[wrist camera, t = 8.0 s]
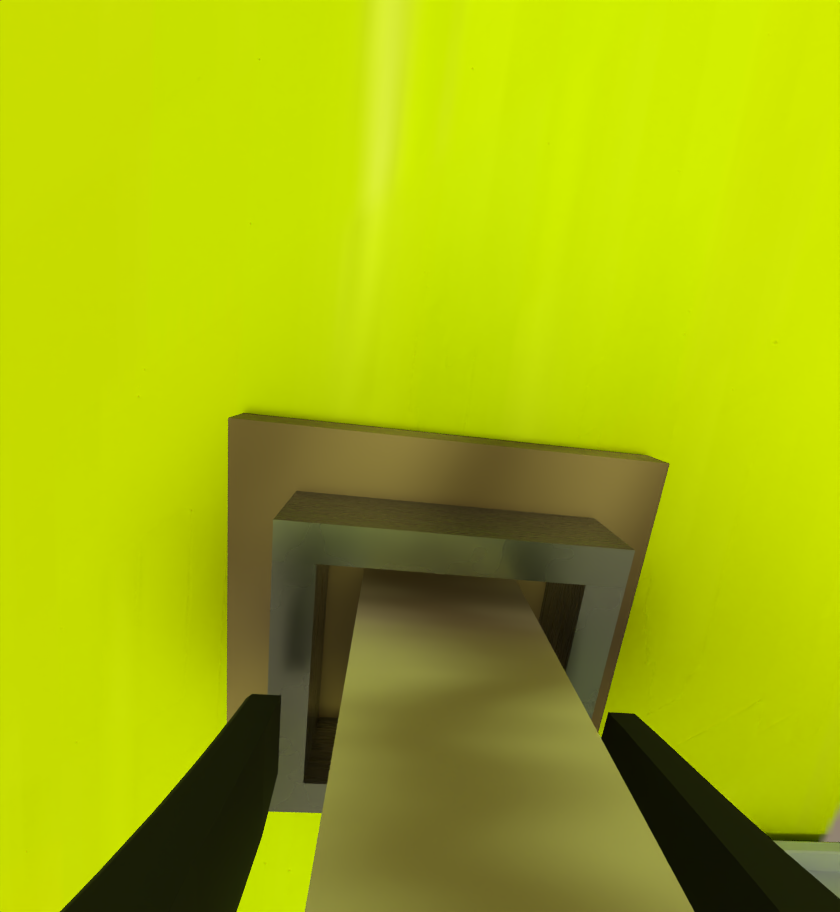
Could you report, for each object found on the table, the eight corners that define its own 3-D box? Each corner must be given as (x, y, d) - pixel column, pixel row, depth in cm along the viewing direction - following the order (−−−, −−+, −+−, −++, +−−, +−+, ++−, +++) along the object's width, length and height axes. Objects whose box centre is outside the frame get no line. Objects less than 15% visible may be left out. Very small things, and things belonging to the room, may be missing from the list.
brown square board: (647, 455, 12) (669, 463, 11) (569, 766, 15) (581, 795, 14) (243, 413, 11) (228, 417, 10) (238, 753, 14) (226, 782, 13)
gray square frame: (594, 518, 11) (634, 550, 9) (540, 752, 13) (565, 820, 11) (296, 490, 11) (273, 519, 9) (284, 740, 12) (264, 810, 10)
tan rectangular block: (514, 577, 11) (756, 1026, 4) (491, 701, 12) (644, 1264, 5) (364, 566, 11) (283, 1032, 3) (353, 694, 12) (270, 1285, 4)
